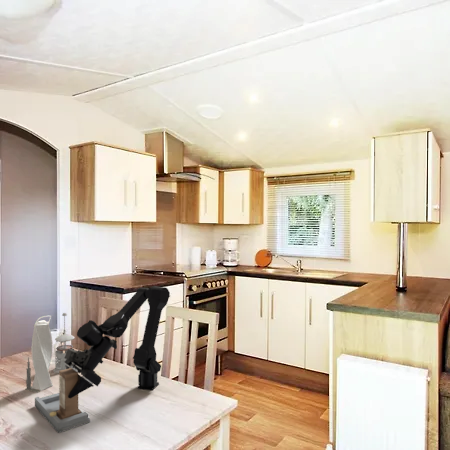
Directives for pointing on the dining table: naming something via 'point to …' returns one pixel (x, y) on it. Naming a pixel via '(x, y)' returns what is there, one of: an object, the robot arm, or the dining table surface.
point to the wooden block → (66, 384)
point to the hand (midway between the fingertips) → (64, 393)
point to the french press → (60, 349)
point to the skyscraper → (40, 356)
